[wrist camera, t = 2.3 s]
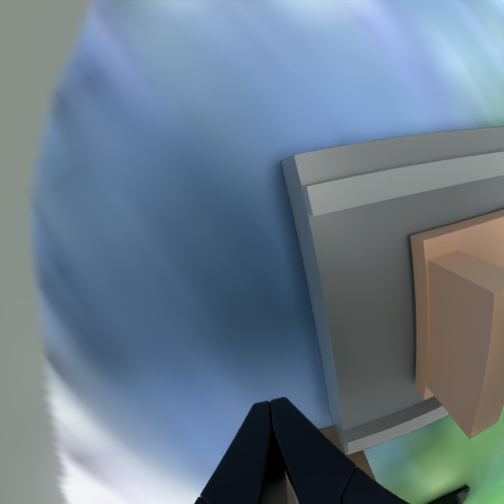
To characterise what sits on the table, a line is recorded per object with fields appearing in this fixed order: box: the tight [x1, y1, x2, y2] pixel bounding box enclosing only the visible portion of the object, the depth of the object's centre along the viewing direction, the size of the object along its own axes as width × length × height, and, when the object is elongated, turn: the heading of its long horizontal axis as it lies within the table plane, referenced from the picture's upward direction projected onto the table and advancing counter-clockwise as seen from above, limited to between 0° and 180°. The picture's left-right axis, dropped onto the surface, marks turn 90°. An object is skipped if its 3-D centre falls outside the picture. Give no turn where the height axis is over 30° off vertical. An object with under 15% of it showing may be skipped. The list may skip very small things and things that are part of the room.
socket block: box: [281, 127, 504, 455], centre depth 11 cm, size 12×16×4 cm
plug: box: [286, 425, 376, 504], centre depth 11 cm, size 4×4×7 cm
